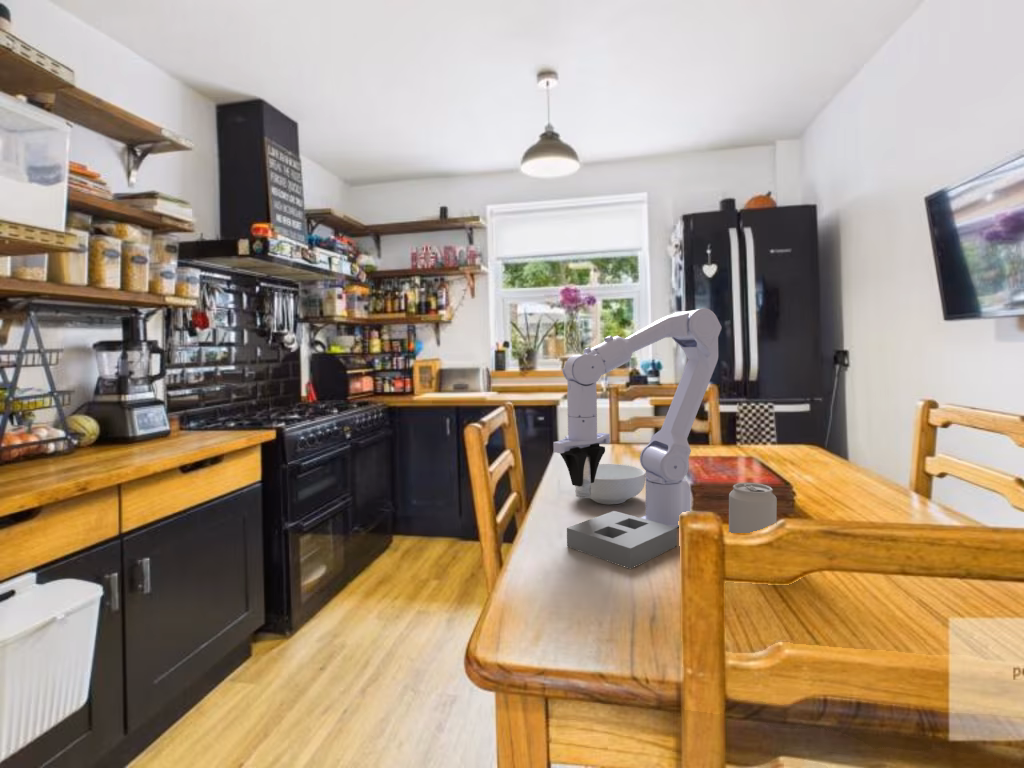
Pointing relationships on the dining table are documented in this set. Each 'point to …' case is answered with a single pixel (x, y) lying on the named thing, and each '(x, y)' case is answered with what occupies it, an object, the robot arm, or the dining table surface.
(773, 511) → the can
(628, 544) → the hole block
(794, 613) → the dining table surface
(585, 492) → the pin
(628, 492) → the cereal bowl
